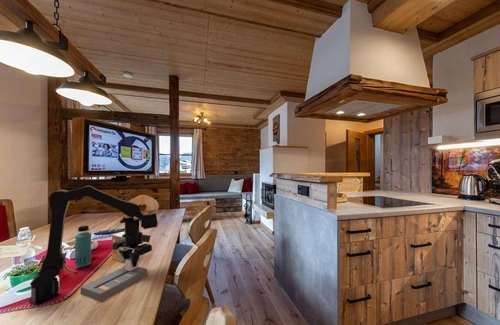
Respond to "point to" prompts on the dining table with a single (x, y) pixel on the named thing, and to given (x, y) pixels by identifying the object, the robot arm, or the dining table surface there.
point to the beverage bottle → (83, 247)
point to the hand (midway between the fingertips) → (132, 266)
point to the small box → (115, 253)
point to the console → (112, 282)
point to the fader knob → (130, 265)
